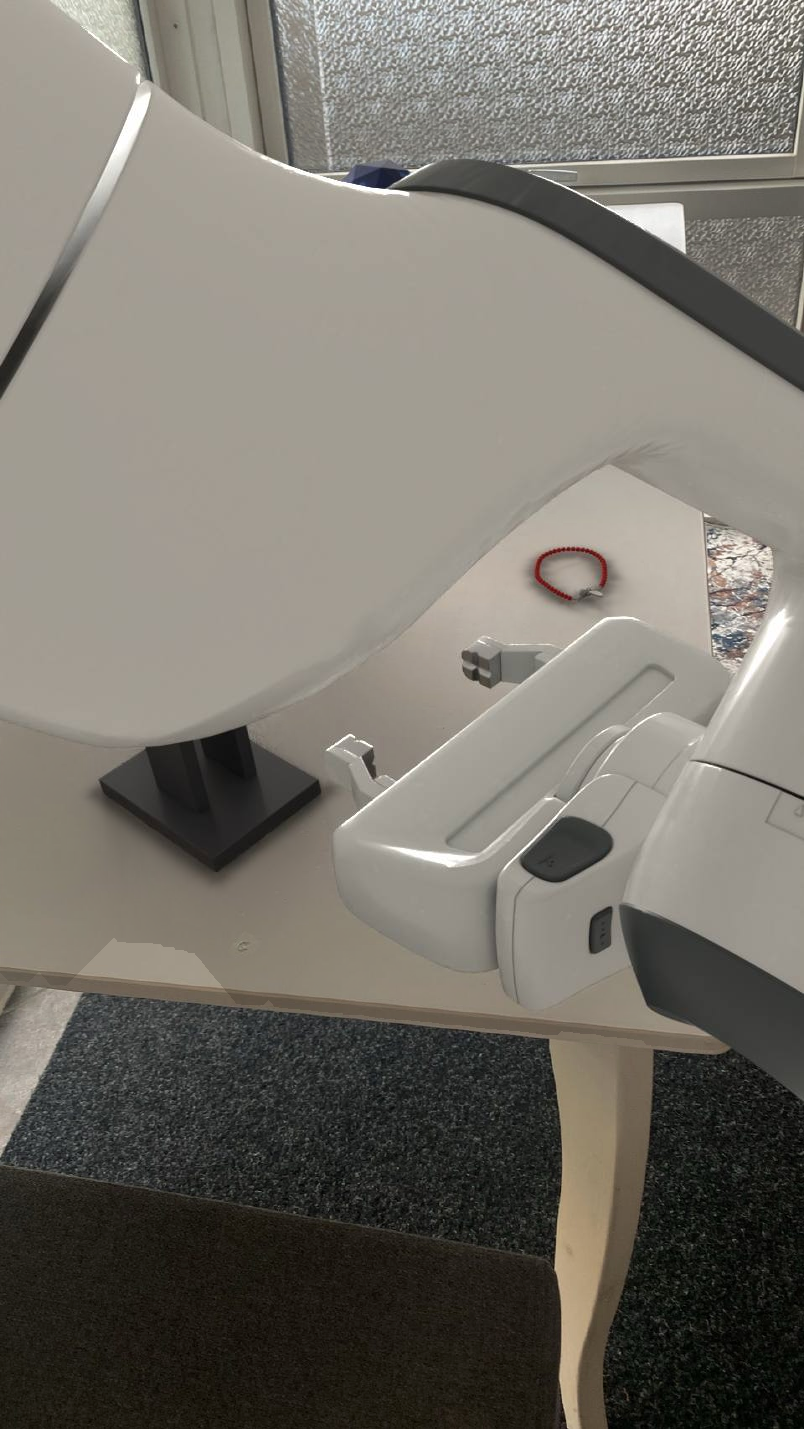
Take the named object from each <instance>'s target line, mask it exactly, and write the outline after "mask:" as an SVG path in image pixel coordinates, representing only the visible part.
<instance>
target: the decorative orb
mask: <svg viewBox="0 0 804 1429" xmlns="http://www.w3.org/2000/svg"><path fill="white" fill-rule="evenodd" d="M412 173H413V172H412V171H410V170H409V169H408V168H405V167H403V166H402V165H400V164H398V163H397V162H394V161H393V160H391V159H390V158H386V159H381V160H373V161H369V162H362V163H357V164H355V165H354V166H353V168H351V170H350V171H349V172H348V173H347V174H346V175H345V177H344V178H343V179H342V180H341V181H340V182H343V183H347V184H352V185H357V186H362V187H367V188H373V189H383V190H384V189H386V188H387V187H389V186H391V185H393V184H394V183H396V182H398V181H400V180H401V179H403V178H405V177H406V176H408V175H410V174H412Z"/></svg>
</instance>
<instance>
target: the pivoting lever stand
mask: <svg viewBox="0 0 804 1429" xmlns="http://www.w3.org/2000/svg"><path fill="white" fill-rule="evenodd" d="M98 782H99V785H100V788H101V791H102V793H103V794H105V795H106V796H108V797H109V798H111V799H112V800H113V801H115V802H116V803H117V804H119V805H121V806H122V807H123V808H125V809H126V810H127V811H129V812H130V813H132V814H133V815H134V816H136V817H138V818H139V819H140V820H142V821H143V822H145V823H146V824H148V825H149V826H150V827H151V828H153V829H154V830H156V831H157V832H159V833H161V835H162V836H164V837H166V838H167V839H169V840H170V841H171V842H173V843H174V844H176V845H177V846H179V847H180V848H181V849H183V850H184V851H186V852H187V853H189V854H190V855H191V856H193V857H194V858H196V859H197V860H198V861H200V862H201V863H203V864H204V865H206V866H207V867H208V868H209V869H211V870H213V871H214V872H216V873H217V872H218V871H220V870H221V869H223V868H224V867H225V866H226V865H228V864H229V863H231V862H232V861H233V860H235V859H236V858H237V857H238V856H240V855H241V854H242V853H244V852H245V851H247V849H249V848H250V847H251V846H253V845H254V844H255V843H257V842H258V841H260V840H261V839H262V838H263V837H265V836H266V835H267V834H268V833H270V832H272V831H273V830H274V829H276V827H278V826H279V825H281V824H282V823H283V822H285V821H286V820H288V819H289V818H290V817H291V816H292V815H294V814H295V813H296V812H298V811H299V810H300V809H302V808H303V807H305V806H306V805H307V804H308V803H309V802H311V801H312V800H314V799H315V798H316V797H318V796H319V795H321V793H322V790H321V785H320V779H319V778H318V777H316V776H313V775H312V774H311V773H308V771H305V770H304V769H302V768H300V767H298V766H297V765H295V764H294V763H291V762H289V761H288V760H286V759H284V758H283V757H281V756H279V755H278V754H276V753H274V752H272V751H271V750H269V749H267V748H266V747H264V746H262V745H260V744H259V743H257V742H255V741H253V740H251V738H250V735H249V731H248V726H247V725H245V726H242V727H239V728H235V729H232V730H229V731H226V732H223V733H220V734H216V735H213V736H210V737H206V738H202V739H197V740H191V741H185V742H180V743H174V744H168V745H162V746H150V747H144V749H143V750H141V751H139V752H138V753H136V754H135V755H134V756H132V757H129V759H127V760H126V761H124V762H123V763H121V764H119V765H118V766H117V767H115V768H113V769H112V770H111V771H108V772H107V773H106V774H104V775H103V776H101V777H100V778H98Z"/></svg>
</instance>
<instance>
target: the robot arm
mask: <svg viewBox="0 0 804 1429" xmlns="http://www.w3.org/2000/svg"><path fill="white" fill-rule="evenodd" d="M140 80H141V73H140V71H139V70H138V69H137V68H135V66H133V65H132V64H130V63H129V62H128V61H127V60H126V59H124V58H123V57H122V56H121V55H119V54H118V52H115V51H114V50H113V49H112V48H111V47H109V46H108V45H107V44H106V43H104V42H103V41H102V40H100V39H99V38H98V37H96V36H95V35H94V34H93V33H92V32H91V31H89V30H88V29H86V28H85V27H84V26H83V25H81V24H80V23H79V22H78V21H77V20H75V19H74V18H73V17H72V16H70V15H69V14H68V13H66V12H65V11H64V10H62V9H61V8H60V7H59V6H57V4H55V3H54V2H52V0H0V721H3V722H6V723H9V724H12V725H15V726H18V727H21V728H24V729H28V730H31V731H34V732H37V733H41V734H45V735H48V736H51V737H54V738H58V739H62V740H66V741H69V742H74V743H78V744H81V745H85V746H90V747H95V748H102V749H133V748H145V747H150V746H162V745H168V744H174V743H180V742H185V741H191V740H197V739H202V738H206V737H210V736H213V735H216V734H220V733H223V732H226V731H229V730H232V729H235V728H239V727H242V726H245V725H246V726H247V725H250V724H252V723H255V722H259V721H261V720H263V719H265V718H268V717H270V716H272V715H275V714H278V712H281V711H284V710H285V709H287V708H290V707H292V706H295V705H296V704H298V703H300V702H302V701H304V700H306V699H309V698H311V697H312V696H314V695H315V694H318V693H319V692H321V691H323V690H324V689H326V688H328V687H330V686H331V685H333V684H335V683H337V682H338V681H339V680H341V679H342V678H344V677H346V676H347V675H348V674H350V673H351V672H353V671H355V670H356V669H358V668H360V666H362V665H363V664H365V663H367V661H369V660H371V659H372V658H373V657H374V656H376V655H378V654H379V653H380V652H382V651H383V650H385V649H386V648H387V647H388V646H389V645H391V644H392V643H393V642H395V641H396V640H397V639H398V638H399V637H401V636H402V635H403V634H404V633H405V632H406V631H407V630H409V628H411V627H412V626H413V625H414V624H415V623H416V622H417V621H418V620H419V619H420V618H421V617H422V616H423V615H425V613H426V612H427V611H428V610H429V609H430V608H431V607H433V605H435V603H436V602H437V601H438V600H439V599H440V598H442V597H443V596H444V595H445V594H446V593H447V592H448V591H449V590H450V589H451V588H452V587H453V586H454V585H455V584H456V583H458V582H459V580H461V578H462V577H464V576H465V574H467V573H468V571H470V570H471V569H472V568H473V567H474V566H475V565H476V564H477V563H478V562H479V561H480V560H482V558H484V556H486V555H487V554H488V553H490V551H492V550H493V549H494V548H495V547H496V546H497V545H499V543H501V542H502V541H503V540H504V539H505V538H506V537H507V536H508V535H510V534H511V533H512V532H513V531H514V530H515V529H517V528H518V527H519V526H520V525H522V524H523V523H524V522H525V521H527V520H528V519H529V518H530V517H532V516H534V514H536V513H537V512H538V511H540V510H541V509H542V508H544V507H545V506H546V505H548V504H549V503H550V502H551V501H552V500H554V499H555V498H557V497H559V495H561V494H562V493H564V492H565V491H567V490H568V489H570V488H571V487H573V486H574V485H576V484H577V483H579V482H581V481H582V480H583V479H585V478H587V477H588V476H590V475H591V474H593V473H595V472H597V471H598V470H600V469H603V468H604V467H607V466H608V465H611V466H614V468H617V469H619V470H621V471H623V472H624V473H626V474H628V475H630V476H632V477H634V478H637V479H638V480H640V481H642V482H644V483H646V484H648V485H650V486H652V487H654V488H655V489H656V490H659V491H661V492H663V493H665V494H667V495H669V496H671V497H672V498H675V499H676V500H678V501H680V502H682V503H683V504H686V505H687V506H690V507H691V508H693V509H695V510H698V511H699V512H701V513H703V514H705V515H707V516H709V517H710V518H713V519H715V520H716V521H718V522H721V523H722V524H724V525H726V526H728V527H730V528H731V529H734V530H736V531H737V532H739V533H741V534H743V535H745V536H747V537H749V538H751V539H753V540H755V541H756V542H759V543H761V544H762V545H764V546H765V547H767V548H770V551H771V556H772V576H771V577H772V579H771V584H770V589H769V595H768V599H767V603H766V606H765V610H764V614H763V616H762V619H761V621H760V623H759V626H758V628H757V631H756V632H755V635H754V637H753V639H752V641H751V643H750V645H749V647H748V649H747V651H746V652H745V655H744V656H743V657H742V660H741V662H740V664H739V666H738V668H737V670H736V672H735V673H734V672H731V671H728V669H727V668H726V667H725V665H724V664H723V663H722V662H720V660H718V659H717V658H716V657H714V656H713V655H711V654H709V652H706V651H705V650H703V649H702V648H699V647H698V646H696V645H694V644H692V643H691V642H688V641H686V640H685V639H682V638H680V637H678V636H677V635H674V634H673V633H671V632H668V631H666V630H665V629H662V628H660V627H658V626H656V625H654V624H651V623H650V622H647V621H644V620H643V619H640V618H636V617H633V616H609V617H604V618H602V619H601V620H600V621H598V622H596V624H594V625H593V626H592V627H590V629H588V630H587V631H585V632H584V633H583V634H582V635H581V636H579V637H578V638H576V639H575V640H574V641H573V642H571V643H570V644H569V645H568V646H566V647H565V648H561V647H559V646H556V645H554V644H551V643H510V644H507V643H503V642H501V641H499V640H496V639H494V638H492V637H489V636H487V635H482V636H480V637H479V638H477V639H476V640H475V641H473V642H472V643H471V644H469V645H468V646H467V647H465V648H464V649H463V650H462V651H461V656H460V657H461V660H463V661H462V665H461V668H462V672H463V674H464V676H465V678H467V679H468V680H469V681H471V682H478V683H479V685H481V686H483V687H485V688H487V689H489V690H491V689H493V688H495V686H497V685H498V684H499V683H501V682H502V683H510V684H518V685H517V686H516V687H514V688H513V689H512V690H510V691H509V692H508V693H507V694H506V695H504V696H503V697H502V698H500V699H499V700H498V701H497V702H496V703H494V704H493V705H492V706H490V707H489V708H487V709H486V710H485V711H484V712H482V713H481V714H480V715H479V716H477V718H475V719H474V720H472V721H471V722H470V723H469V724H467V725H466V726H465V727H464V728H462V729H461V730H459V732H457V733H456V734H455V735H454V736H452V737H451V738H450V739H448V740H447V741H446V742H445V743H444V744H442V745H441V746H439V747H438V748H437V749H436V750H434V751H433V752H432V753H430V754H429V755H428V756H427V757H425V758H424V759H422V760H421V761H420V762H419V763H418V764H416V765H415V766H414V767H413V768H411V769H410V770H409V771H408V772H406V773H405V774H404V775H403V776H401V777H400V778H398V780H396V779H394V778H392V777H390V776H388V775H386V774H381V775H380V776H378V775H377V767H376V766H377V765H375V764H374V760H375V752H374V746H373V745H370V744H369V743H367V742H366V741H363V740H357V739H356V736H354V735H353V734H346V735H345V736H343V737H342V738H340V739H339V740H338V741H336V742H334V743H333V744H332V745H331V746H329V747H328V748H326V749H325V750H324V751H323V752H322V759H323V765H324V772H325V773H326V775H327V777H328V778H329V780H330V781H332V782H333V783H334V784H337V785H338V786H340V787H341V788H343V789H345V790H347V791H348V792H350V793H352V798H353V800H354V803H355V805H356V807H357V810H358V811H357V812H356V813H354V814H353V815H352V816H350V817H349V818H348V819H346V820H345V821H344V822H342V823H341V824H340V825H339V826H338V827H337V828H335V830H334V831H333V833H332V837H331V856H332V858H331V859H332V866H333V874H334V878H335V879H334V880H335V884H336V888H337V892H338V894H339V897H340V899H341V901H342V903H343V905H344V907H345V908H346V910H348V911H349V912H350V913H351V914H352V915H353V916H354V917H355V918H357V919H359V921H361V922H362V923H364V924H365V925H366V926H369V927H370V928H372V929H374V931H376V932H377V933H380V934H381V935H383V936H385V937H387V939H389V940H391V941H393V942H395V943H396V944H398V945H400V946H401V947H404V948H405V949H407V950H409V951H411V952H412V953H415V954H416V955H418V956H420V957H421V958H422V957H423V958H424V959H427V960H428V961H430V962H433V963H435V964H437V965H439V966H441V967H443V968H447V969H450V970H453V971H457V972H460V973H466V974H467V973H468V974H482V973H487V972H492V971H494V970H497V969H498V972H499V978H500V982H501V987H502V990H503V992H504V994H505V995H506V996H507V997H508V998H509V999H511V1001H513V1002H514V1003H516V1004H517V1005H519V1006H520V1007H522V1008H524V1009H526V1010H529V1011H530V1012H531V1011H532V1012H542V1011H545V1010H548V1009H551V1008H553V1007H555V1006H557V1005H559V1004H561V1003H563V1002H565V1001H566V1000H568V999H570V998H571V997H573V996H575V995H577V994H579V993H581V992H583V991H584V990H586V989H588V988H590V987H592V986H593V985H595V984H597V983H599V982H601V981H603V980H605V979H607V978H609V977H611V976H613V975H615V974H617V973H620V972H622V971H624V970H627V969H628V968H631V967H632V971H633V973H634V976H635V978H636V981H637V984H638V986H639V989H640V992H641V995H642V997H643V1000H644V1002H645V1005H646V1007H647V1008H648V1009H649V1010H651V1011H652V1012H654V1013H656V1014H658V1015H659V1016H662V1017H665V1018H667V1019H670V1020H672V1021H676V1022H678V1023H681V1024H685V1025H688V1026H692V1027H695V1028H697V1029H699V1030H700V1031H702V1032H704V1033H706V1034H707V1035H708V1036H711V1037H712V1038H714V1039H716V1040H717V1041H719V1042H720V1043H723V1044H725V1045H726V1046H728V1047H729V1048H730V1049H732V1050H734V1051H735V1052H737V1053H738V1054H739V1055H741V1056H743V1057H744V1058H745V1059H747V1060H749V1061H750V1062H751V1063H752V1064H754V1065H755V1066H757V1067H758V1068H760V1069H761V1070H762V1071H763V1072H765V1073H766V1074H768V1075H769V1076H771V1077H772V1078H773V1079H774V1080H776V1082H778V1083H779V1084H781V1085H782V1086H783V1087H785V1089H787V1090H788V1091H790V1092H791V1093H792V1094H794V1095H795V1096H796V1097H797V1098H798V1099H799V1100H801V1101H802V1102H803V1103H804V332H803V331H801V330H799V328H797V327H795V326H794V325H792V324H791V323H790V322H788V321H787V320H785V318H783V317H781V316H779V314H777V313H775V312H774V311H773V310H771V309H770V308H768V307H767V306H765V305H764V304H763V303H761V302H760V301H758V300H756V299H755V298H753V297H752V296H751V295H749V294H748V293H746V292H745V291H743V290H741V289H740V288H739V287H737V286H736V285H734V284H732V283H731V282H729V281H728V280H726V279H725V278H724V277H722V276H721V275H719V274H718V273H716V272H714V271H713V270H712V269H710V268H708V267H707V266H705V265H704V264H702V263H700V262H699V261H697V260H696V259H695V258H692V256H690V255H688V254H687V253H685V252H683V251H682V250H680V249H679V248H678V247H675V246H673V245H672V244H670V243H669V242H667V241H666V240H664V239H662V238H661V237H659V236H657V235H656V234H654V233H652V232H651V231H649V230H648V229H646V228H644V227H642V226H640V225H639V224H637V223H635V222H634V221H632V220H630V219H628V218H627V217H625V216H623V215H621V214H619V212H617V211H614V210H613V209H611V208H609V207H607V206H605V205H604V204H601V203H599V202H598V201H596V200H594V199H592V198H590V197H588V196H586V195H584V194H582V193H580V192H578V191H576V190H573V189H572V188H569V187H567V186H565V185H563V184H560V183H558V182H556V181H554V180H551V179H547V178H545V177H543V176H540V175H537V174H534V173H531V172H528V171H525V170H522V169H520V168H517V167H513V166H510V165H506V164H502V163H498V162H494V161H489V160H483V159H473V158H451V159H443V160H438V161H435V162H431V163H430V164H427V165H425V166H423V167H420V168H419V169H417V170H415V171H413V172H411V173H412V174H410V175H408V176H406V177H405V178H403V179H401V180H400V181H398V182H396V183H394V184H393V185H391V186H389V187H387V188H386V189H384V190H383V189H373V188H367V187H362V186H357V185H352V184H347V183H343V182H341V181H338V180H334V179H331V178H327V177H324V176H320V175H317V174H315V173H310V172H307V171H304V170H302V169H299V168H297V167H294V166H291V165H289V164H286V163H284V162H281V161H279V160H277V159H275V158H271V157H269V156H267V155H265V154H264V153H261V152H258V151H256V150H254V149H253V148H251V147H249V146H247V145H245V143H242V142H240V141H238V140H236V139H235V138H233V137H231V136H229V135H227V134H226V133H224V132H222V131H221V130H219V129H217V128H216V127H214V126H213V125H211V124H210V123H208V122H206V121H205V120H203V119H202V118H200V117H199V116H198V115H196V114H194V113H193V112H191V111H190V109H188V108H186V107H185V106H183V105H182V104H181V103H180V102H178V101H177V100H175V98H173V97H171V95H169V94H168V93H166V92H165V91H164V90H163V89H161V88H160V87H159V86H157V85H156V84H155V83H154V82H152V81H151V80H148V79H144V80H143V81H142V82H140ZM374 779H375V781H374Z"/></svg>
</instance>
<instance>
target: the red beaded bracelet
mask: <svg viewBox="0 0 804 1429" xmlns="http://www.w3.org/2000/svg"><path fill="white" fill-rule="evenodd" d="M565 552H577V553H579V552H581V553H585V554H589V555H592V557H595V558H596V559H597V560H598V561H599V562H600V564H601V571H602V572H601V573H602V574H601V576H602V577H601V580H600V582H599V584H598V586H599V588H596V589H594V590H593V589H591V587H586V588H581V589H580V590H579V592H578V595H579V597H578V598H575V597H573V596H572V595H568V594H567V593H564V592H562V591H561V590H559V589H557V588H555V587H554V586H552V585H551V584H549V583H548V582H546V580H545V579H543V578H542V577H541V574H540V569H541V564H542V562H543V560H544V559H546V557H549V556H552V555H553V554H557V553H565ZM534 577H535V579H536V581H538V583H539V584H540V585H541V586H543V587H544V588H546V589H547V590H549V592H552V594H555V595H556V596H559V597H560V598H563V599H564V600H567V601H569V602H570V601H578V602H580V601H581V600H582V599H583V598H587V597H591V596H594V597H596V598H597V597H598V598H603V597H604V594H603V593H602V592H601V590H602V589H604V587H605V585H606V584H607V579H608V564H607V561H606V560H605V558H604V557H603V555H601V554H600V553H599V552H597V551H594V550H593V549H590V548H587V547H586V548H585V547H579V546H577V547H575V546H571V547H570V546H567V547H565V546H562V547H557V548H553V549H549V550H548V551H545V552H544V553H541V555H539V557H538V558H537V559H536V562H535V565H534Z"/></svg>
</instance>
